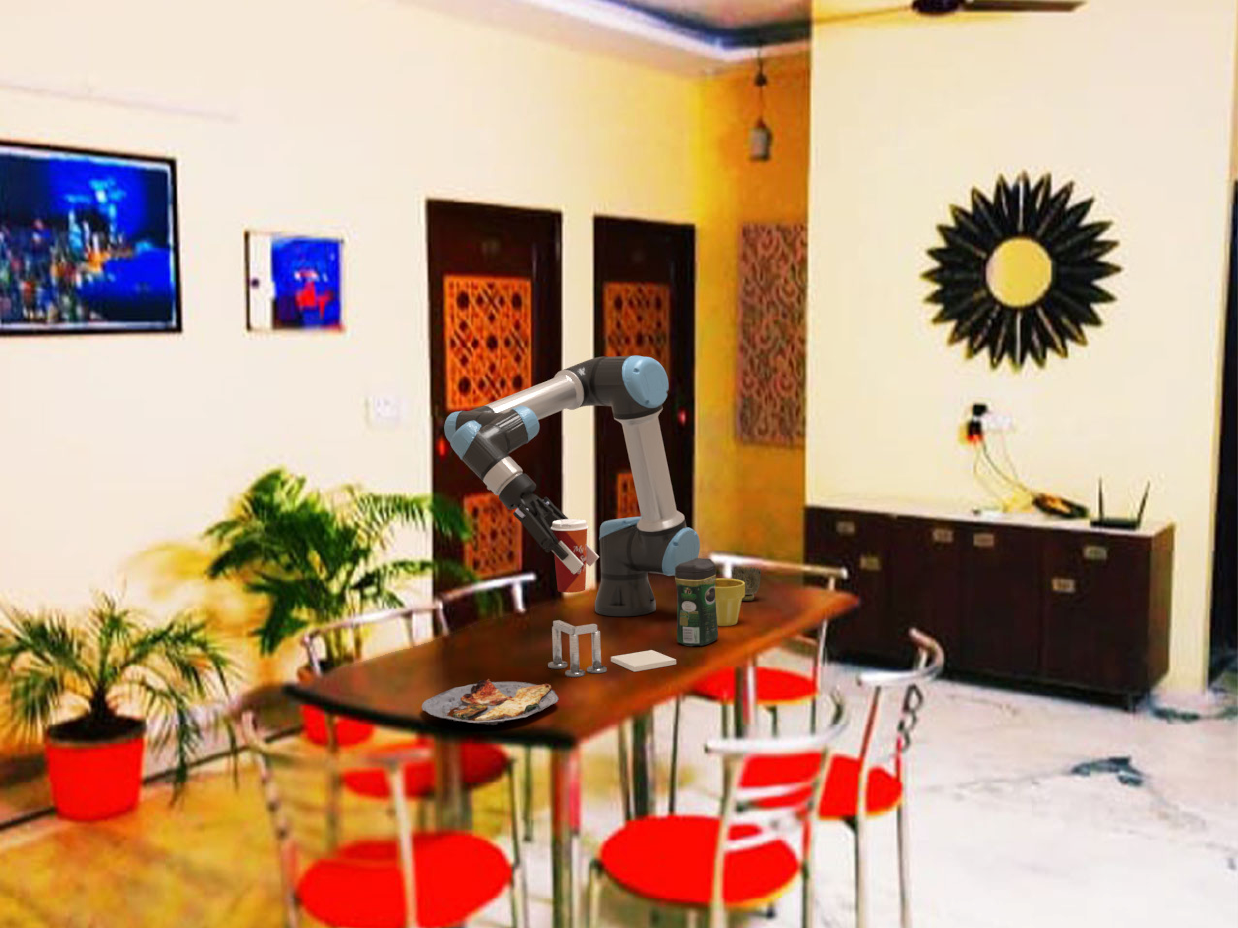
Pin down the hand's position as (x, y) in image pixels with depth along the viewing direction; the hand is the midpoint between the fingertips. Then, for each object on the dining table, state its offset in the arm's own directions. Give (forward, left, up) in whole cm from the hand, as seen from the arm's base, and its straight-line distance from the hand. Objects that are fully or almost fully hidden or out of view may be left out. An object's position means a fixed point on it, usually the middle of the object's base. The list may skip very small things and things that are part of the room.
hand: (586, 565), depth 261 cm
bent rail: (-6, 0, -23) cm, 23 cm away
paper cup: (-3, -2, -5) cm, 6 cm away
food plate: (+11, -26, -23) cm, 36 cm away
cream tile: (-2, +14, -23) cm, 27 cm away
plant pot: (-23, +48, -23) cm, 58 cm away
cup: (-41, +67, -23) cm, 82 cm away
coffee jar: (-11, +33, -23) cm, 42 cm away
